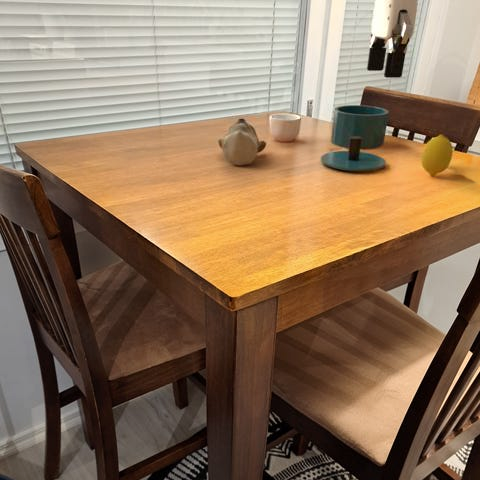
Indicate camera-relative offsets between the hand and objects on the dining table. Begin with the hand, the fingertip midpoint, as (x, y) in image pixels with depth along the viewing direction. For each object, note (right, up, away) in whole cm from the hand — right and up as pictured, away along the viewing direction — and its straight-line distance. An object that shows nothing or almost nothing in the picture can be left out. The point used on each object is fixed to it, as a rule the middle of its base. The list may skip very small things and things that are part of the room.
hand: (383, 73), depth 95 cm
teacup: (-16, -2, +29) cm, 34 cm away
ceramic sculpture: (-27, -12, +13) cm, 33 cm away
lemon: (+11, -18, +5) cm, 22 cm away
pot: (+1, -3, +27) cm, 27 cm away
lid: (-3, -13, +11) cm, 17 cm away
